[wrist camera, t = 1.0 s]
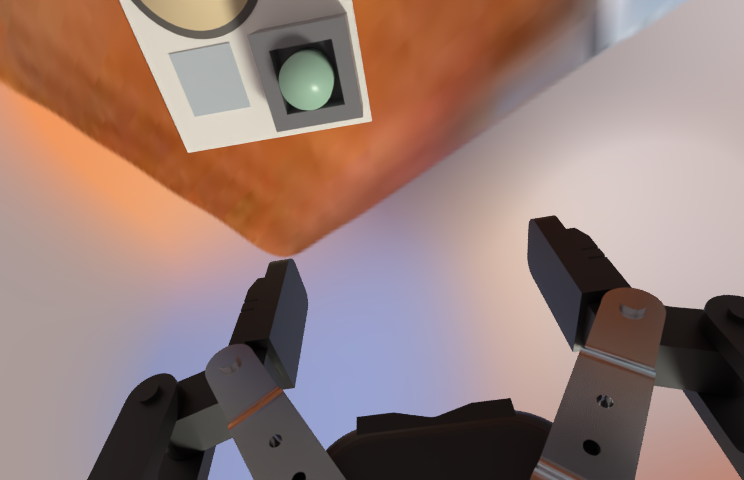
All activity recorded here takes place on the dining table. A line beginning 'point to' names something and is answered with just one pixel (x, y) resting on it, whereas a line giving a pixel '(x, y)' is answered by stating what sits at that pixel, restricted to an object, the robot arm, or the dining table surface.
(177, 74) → the picture board
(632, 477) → the robot arm
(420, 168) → the dining table surface
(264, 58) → the button housing
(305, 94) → the button
